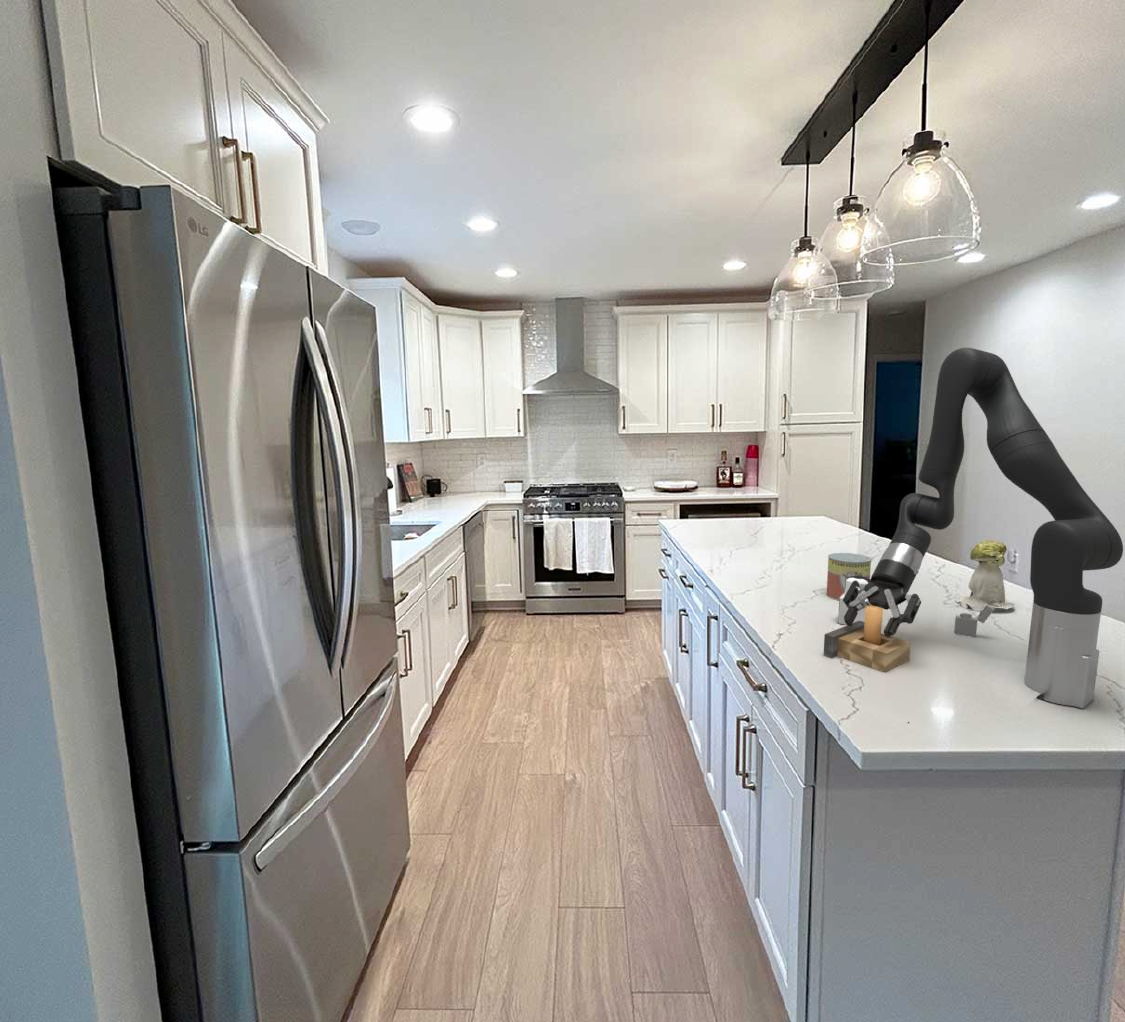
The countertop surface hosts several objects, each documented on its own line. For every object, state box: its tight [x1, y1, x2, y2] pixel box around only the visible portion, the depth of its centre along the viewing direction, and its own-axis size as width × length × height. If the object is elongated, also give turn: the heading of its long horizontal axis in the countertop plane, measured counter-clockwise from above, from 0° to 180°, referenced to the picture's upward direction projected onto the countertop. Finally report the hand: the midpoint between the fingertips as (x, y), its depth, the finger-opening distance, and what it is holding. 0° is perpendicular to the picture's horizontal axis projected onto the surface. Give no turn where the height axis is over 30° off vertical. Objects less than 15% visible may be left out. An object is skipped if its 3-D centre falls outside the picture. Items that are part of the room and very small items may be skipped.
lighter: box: [953, 604, 995, 638], centre depth 132 cm, size 7×2×8 cm, turn 59°
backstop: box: [823, 621, 865, 659], centre depth 116 cm, size 20×14×6 cm
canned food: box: [825, 552, 872, 602], centre depth 163 cm, size 11×11×12 cm
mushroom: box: [955, 540, 1015, 612], centre depth 151 cm, size 12×13×18 cm
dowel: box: [863, 606, 884, 646], centre depth 118 cm, size 3×3×10 cm
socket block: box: [837, 628, 911, 673], centre depth 118 cm, size 10×10×4 cm
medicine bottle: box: [837, 576, 871, 626], centre depth 141 cm, size 7×7×12 cm
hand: (866, 629), depth 117 cm, fingers open, 8 cm apart
